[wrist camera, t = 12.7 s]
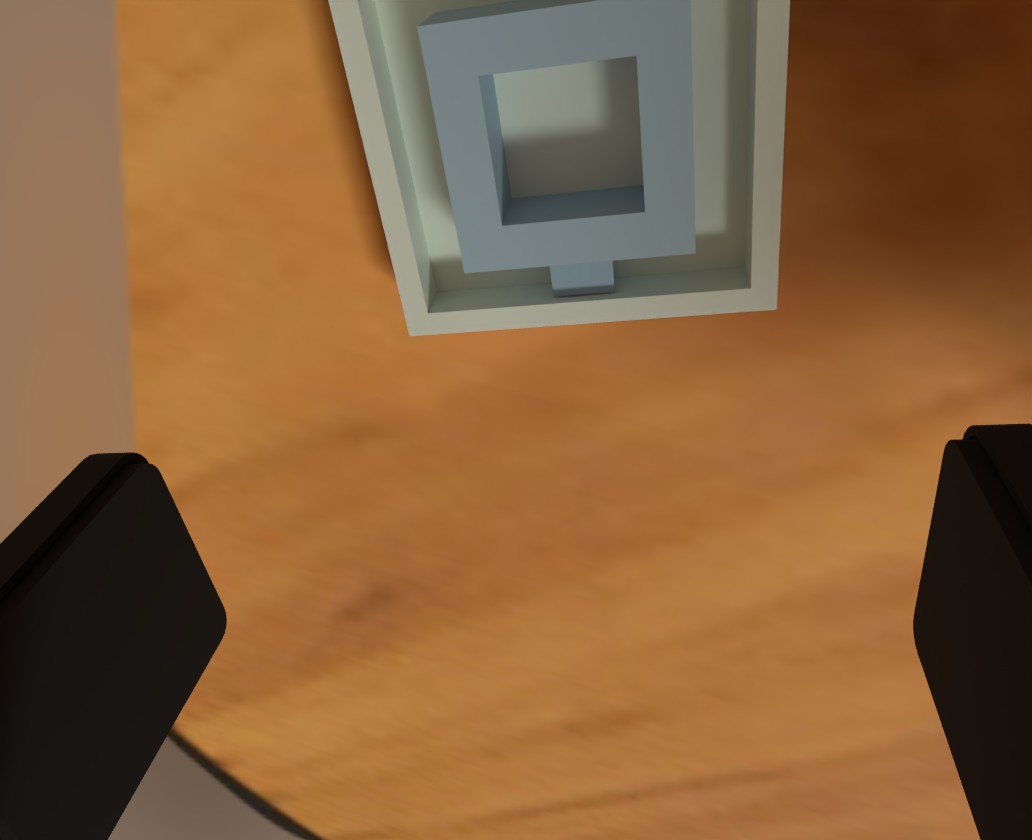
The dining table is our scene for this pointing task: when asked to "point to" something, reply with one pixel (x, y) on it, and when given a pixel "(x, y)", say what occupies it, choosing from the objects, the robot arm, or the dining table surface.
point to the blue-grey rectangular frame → (575, 215)
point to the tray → (577, 167)
